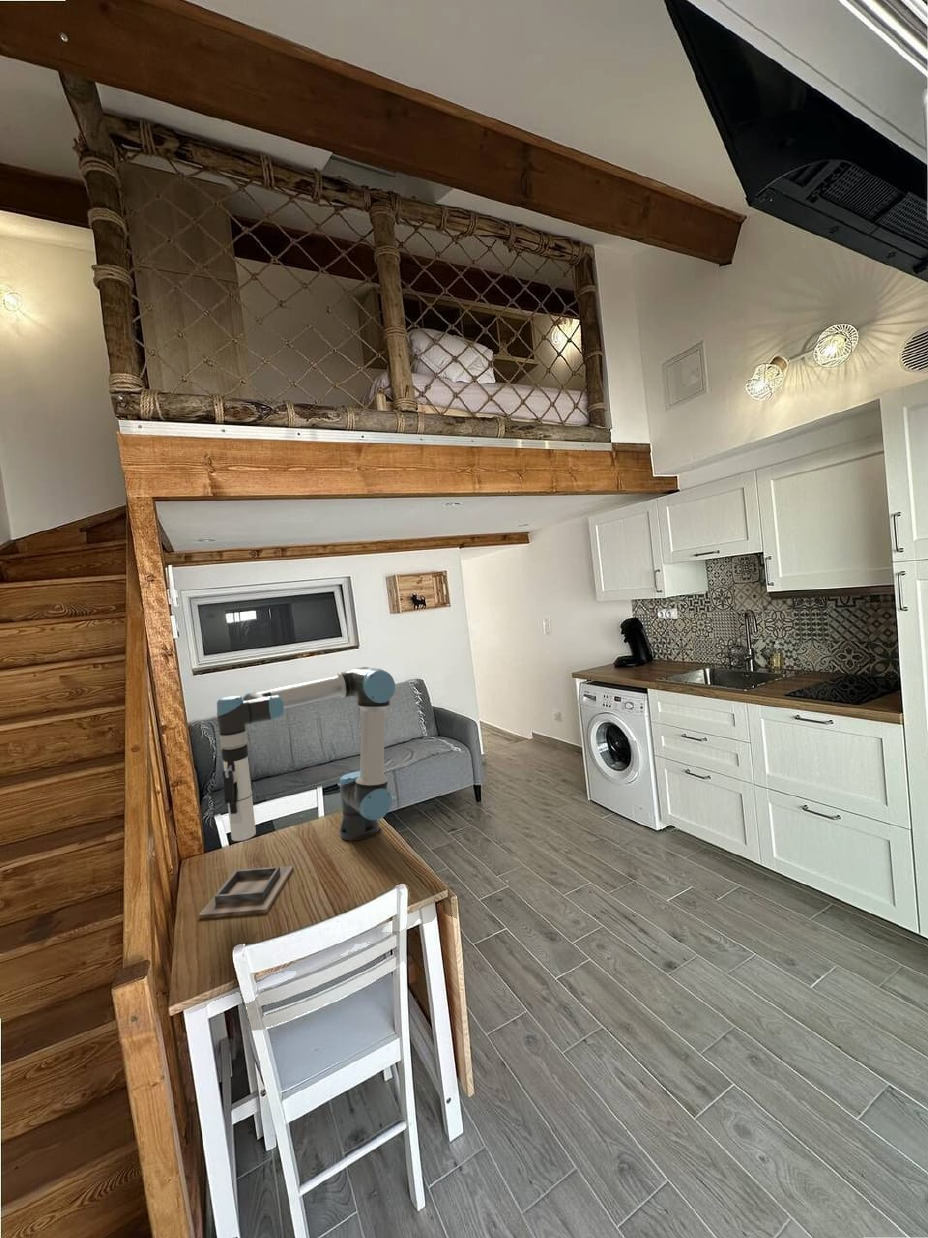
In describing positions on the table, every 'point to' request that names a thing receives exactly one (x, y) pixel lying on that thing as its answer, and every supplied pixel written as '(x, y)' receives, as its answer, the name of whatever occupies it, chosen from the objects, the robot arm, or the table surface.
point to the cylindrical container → (242, 802)
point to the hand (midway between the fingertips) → (241, 816)
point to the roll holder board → (247, 892)
